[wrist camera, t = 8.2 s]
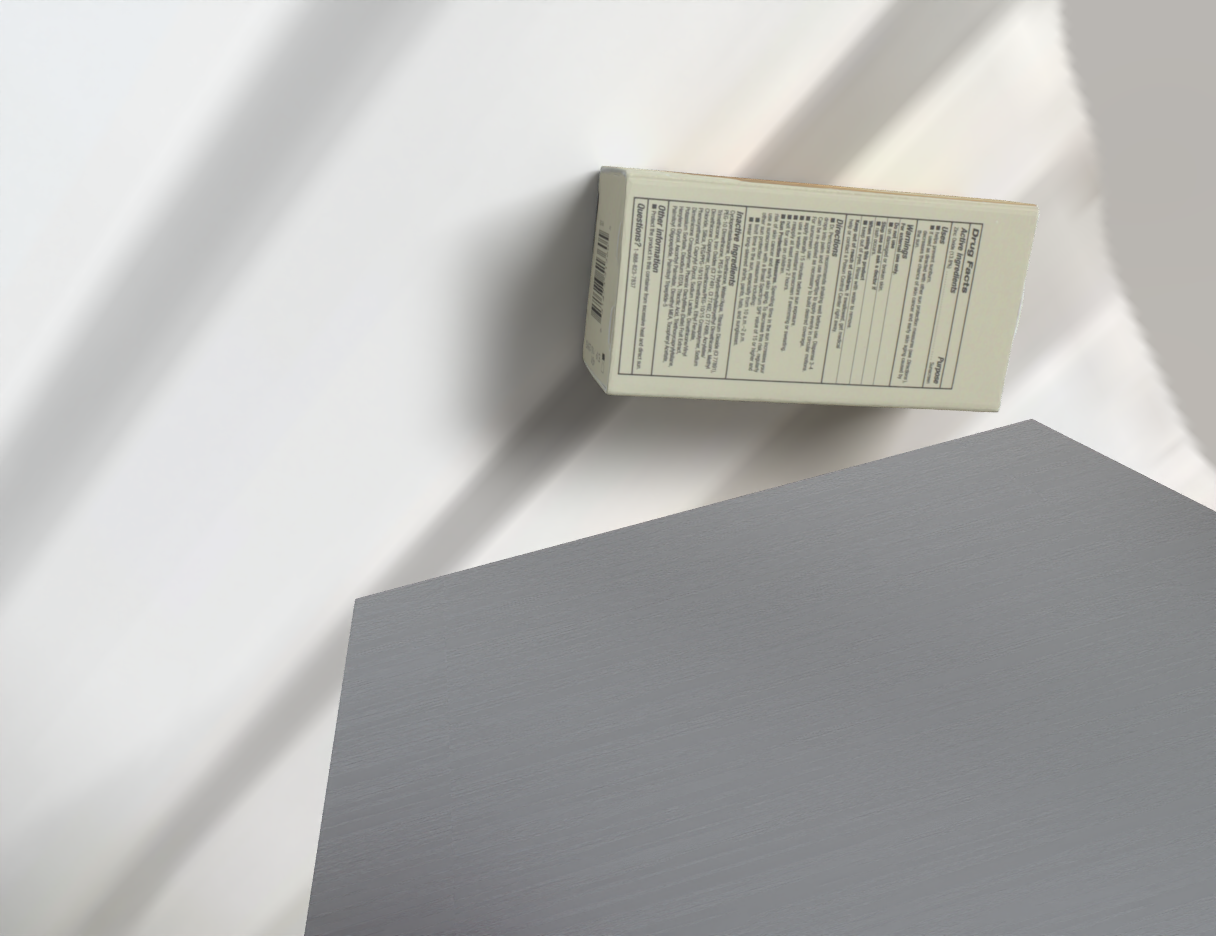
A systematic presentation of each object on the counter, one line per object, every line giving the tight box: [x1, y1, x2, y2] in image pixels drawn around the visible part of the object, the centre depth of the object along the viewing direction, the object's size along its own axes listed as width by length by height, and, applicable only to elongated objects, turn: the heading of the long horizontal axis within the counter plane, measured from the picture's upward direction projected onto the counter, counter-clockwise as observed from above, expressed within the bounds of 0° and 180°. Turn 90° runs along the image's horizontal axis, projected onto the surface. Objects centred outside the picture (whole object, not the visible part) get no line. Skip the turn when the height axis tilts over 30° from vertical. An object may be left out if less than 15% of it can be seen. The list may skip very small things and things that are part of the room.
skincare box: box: [583, 166, 1040, 412], centre depth 32 cm, size 6×4×12 cm
